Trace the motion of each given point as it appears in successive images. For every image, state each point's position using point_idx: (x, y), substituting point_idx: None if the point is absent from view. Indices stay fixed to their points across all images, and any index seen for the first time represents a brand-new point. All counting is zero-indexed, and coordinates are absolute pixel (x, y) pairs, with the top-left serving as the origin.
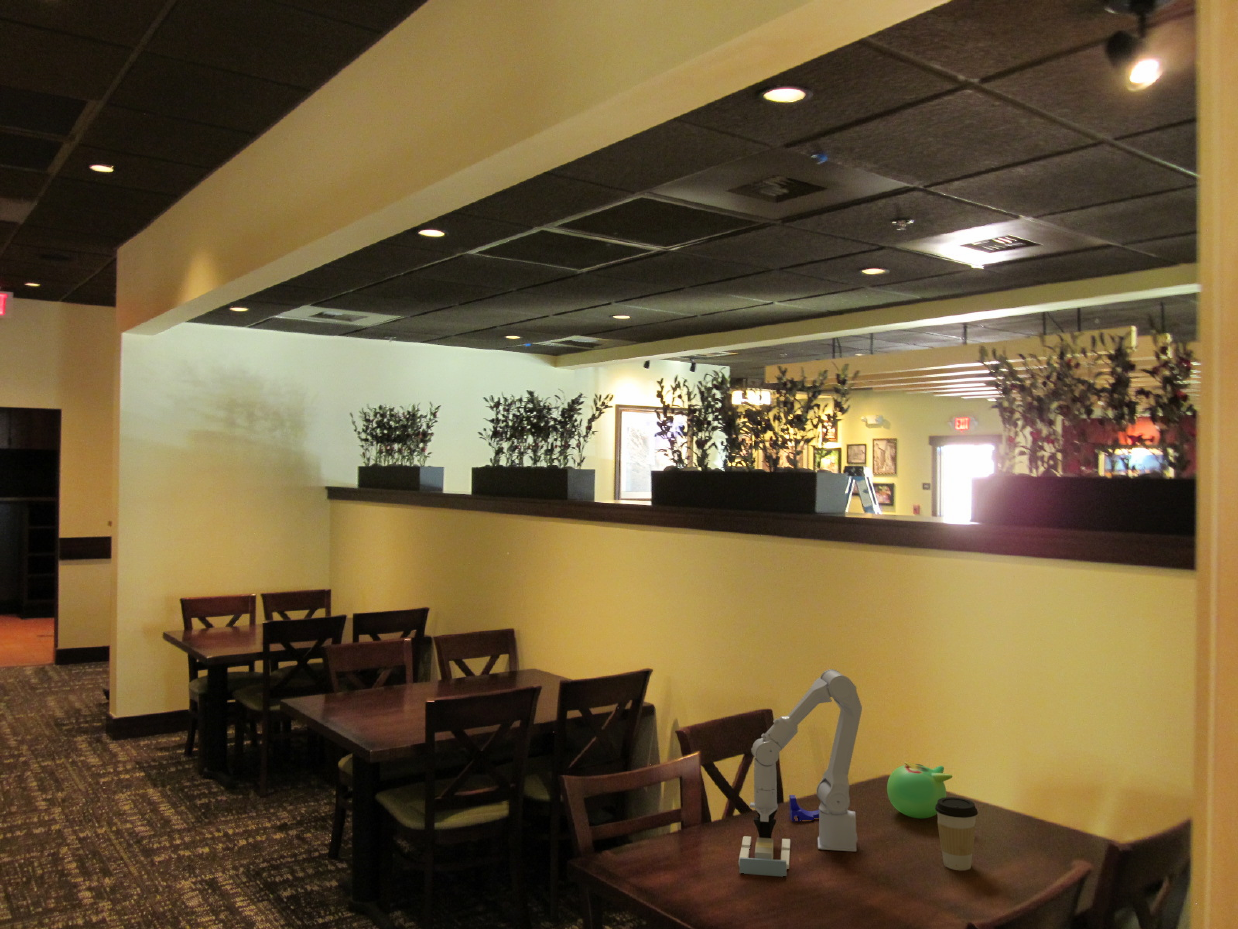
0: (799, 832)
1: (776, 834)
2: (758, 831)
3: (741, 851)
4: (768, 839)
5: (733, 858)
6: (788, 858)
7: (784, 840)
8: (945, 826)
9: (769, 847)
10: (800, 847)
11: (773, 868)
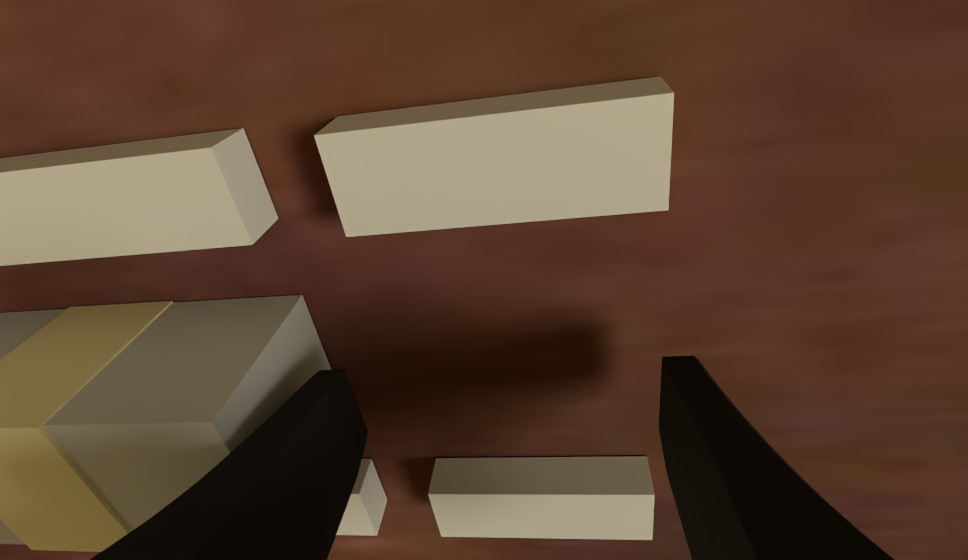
0: (965, 549)
1: (928, 404)
2: (155, 518)
3: (86, 176)
4: None
5: (20, 68)
6: None
7: (607, 510)
8: None
9: (10, 535)
10: (586, 548)
11: None
